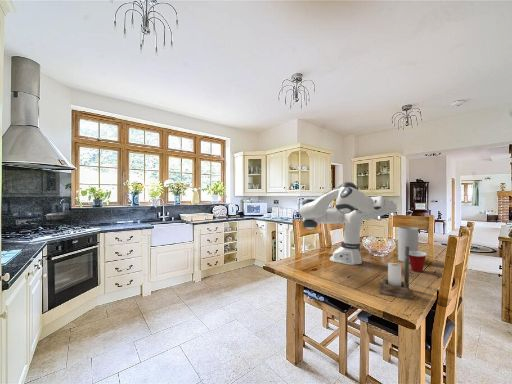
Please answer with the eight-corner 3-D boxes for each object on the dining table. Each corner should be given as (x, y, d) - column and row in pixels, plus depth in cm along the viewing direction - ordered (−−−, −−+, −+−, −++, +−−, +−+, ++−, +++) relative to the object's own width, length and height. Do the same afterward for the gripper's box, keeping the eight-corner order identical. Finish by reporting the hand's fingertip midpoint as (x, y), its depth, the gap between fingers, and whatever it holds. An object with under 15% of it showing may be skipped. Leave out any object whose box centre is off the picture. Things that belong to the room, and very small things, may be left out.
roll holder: (380, 294, 118) (380, 249, 117) (379, 283, 130) (379, 243, 130) (412, 299, 111) (413, 252, 111) (408, 288, 124) (408, 246, 124)
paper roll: (388, 290, 119) (388, 265, 119) (387, 285, 125) (387, 262, 125) (402, 292, 117) (402, 267, 117) (400, 287, 122) (400, 263, 122)
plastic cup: (402, 268, 156) (403, 250, 156) (417, 267, 157) (417, 250, 157) (415, 274, 146) (415, 255, 145) (431, 273, 146) (431, 254, 146)
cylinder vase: (416, 264, 163) (416, 230, 163) (396, 261, 172) (396, 228, 171) (419, 260, 172) (419, 227, 172) (400, 257, 181) (400, 226, 181)
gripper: (353, 215, 131) (372, 226, 133) (383, 204, 113) (404, 217, 116) (354, 206, 134) (373, 217, 136) (384, 194, 116) (404, 207, 119)
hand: (387, 217), depth 126 cm, fingers open, 8 cm apart
